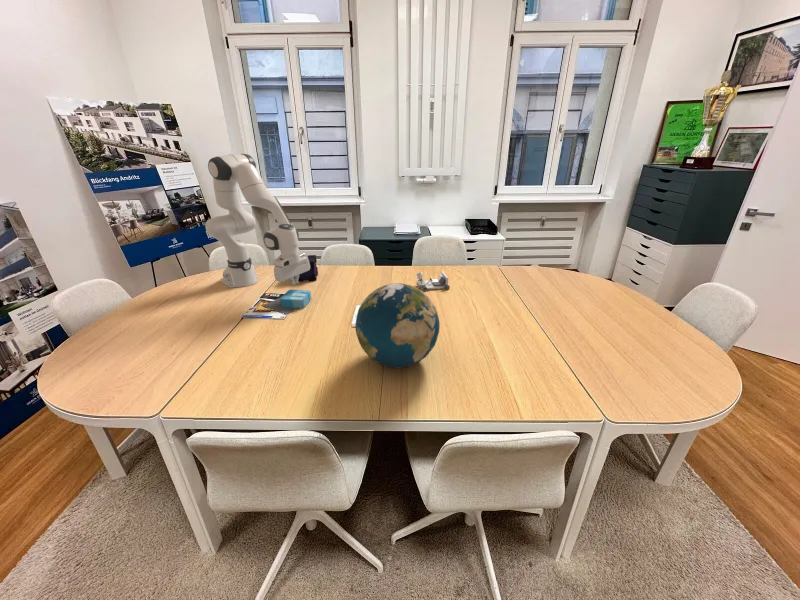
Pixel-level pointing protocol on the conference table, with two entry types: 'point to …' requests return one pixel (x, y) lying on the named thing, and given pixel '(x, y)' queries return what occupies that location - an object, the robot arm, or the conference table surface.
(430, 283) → the toy car
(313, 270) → the energy cube
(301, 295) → the light blue flat block
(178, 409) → the conference table surface
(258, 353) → the conference table surface
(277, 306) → the mat
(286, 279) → the robot arm
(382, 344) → the globe
